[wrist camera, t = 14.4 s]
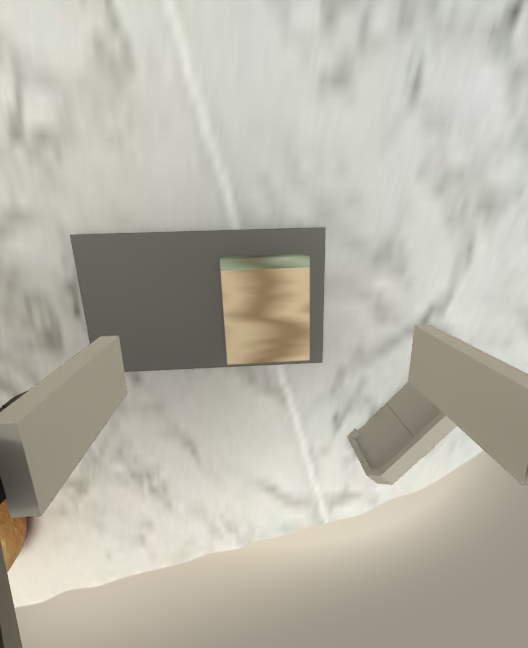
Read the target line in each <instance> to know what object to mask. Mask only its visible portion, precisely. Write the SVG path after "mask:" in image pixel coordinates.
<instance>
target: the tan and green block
mask: <svg viewBox="0 0 528 648" xmlns="http://www.w3.org/2000/svg"><path fill="white" fill-rule="evenodd" d="M220 270H221V284H222V298H223V311H224V325H225V339H226V353H227V365H230V364H249V363H267V362H285V361H304V360H310V256H309V255H306V254H283V255H259V256H235V257H222V258H221V259H220Z"/></svg>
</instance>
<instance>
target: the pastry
mask: <svg viewBox="0 0 528 648" xmlns="http://www.w3.org/2000/svg"><path fill="white" fill-rule="evenodd" d="M26 529H27V518H26V517H17V518H11V517H10V514H9V511H8V507H7V504H6V500H4V501H3V502H2V503H1V505H0V540H1V545H2V550H3V555H4V560H5V565H6V570H7V572H8V571H9V569H10V568H11V566H12V564H13V563H14V561H15V560H16V558H17V556H18V555H19V553H20V551H21V549H22V546H23V543H24V540H25V536H26Z"/></svg>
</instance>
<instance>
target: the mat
mask: <svg viewBox="0 0 528 648" xmlns="http://www.w3.org/2000/svg"><path fill="white" fill-rule="evenodd" d="M70 238H71V243H72V248H73V254H74V259H75V265H76V270H77V275H78V281H79V286H80V292H81V297H82V302H83V308H84V313H85V319H86V324H87V329H88V335H89V340H90V344H91V343H92V342H94V341H95V340H96V339H98V338H99V337H100V336H119V339H120V346H121V353H122V360H123V367H124V372H129V371H151V370H172V369H193V368H215V367H236V366H258V365H279V364H300V363H322V350H323V307H324V264H325V227H324V228H289V229H254V230H219V231H184V232H149V233H115V234H80V235H70ZM283 254H306V255H309V256H310V360H304V361H285V362H267V363H249V364H230V365H227V353H226V339H225V325H224V311H223V298H222V284H221V270H220V259H221V258H222V257H235V256H259V255H283Z"/></svg>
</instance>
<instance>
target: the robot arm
mask: <svg viewBox="0 0 528 648" xmlns="http://www.w3.org/2000/svg"><path fill="white" fill-rule="evenodd" d="M408 381H409V382H410V383H411V384H412V385H413V386H414V387H415V388H417V389H418V390H419V391H420V392H421V393H422V394H423V395H424V396H425V397H426V398H427V399H429V400H430V401H431V402H432V403H433V404H434V405H435V406H436V407H437V408H438V409H439V410H441V411H442V412H443V413H444V414H445V415H446V416H447V417H448V418H449V419H450V420H451V421H453V422H454V423H455V424H456V425H457V426H458V427H459V428H460V429H461V430H462V431H464V432H465V433H466V434H467V435H468V436H469V437H470V438H471V439H472V440H473V441H474V442H476V443H477V444H478V445H479V446H480V447H481V448H482V449H483V450H484V451H485V452H486V453H488V454H489V455H490V456H491V457H492V458H493V459H494V460H495V461H496V462H497V463H498V464H500V465H501V466H502V467H503V468H504V469H505V470H506V471H507V472H508V473H510V474H511V475H512V476H513V477H514V478H515V479H516V480H517V481H518V482H519V483H520V484H521V485H528V374H527V373H525V372H523V371H521V370H519V369H517V368H515V367H513V366H511V365H509V364H507V363H505V362H503V361H501V360H499V359H497V358H495V357H493V356H491V355H489V354H487V353H485V352H483V351H481V350H479V349H477V348H475V347H474V346H472V345H470V344H468V343H466V342H464V341H462V340H460V339H458V338H456V337H454V336H452V335H450V334H448V333H446V332H444V331H442V330H440V329H438V328H436V327H434V326H432V325H415V327H414V336H413V344H412V353H411V361H410V370H409V378H408ZM126 395H127V387H126V380H125V373H124V367H123V360H122V353H121V346H120V339H119V336H100V337H99V338H98V339H96V340H95V341H94V342H92V343H91V344H90V345H88V346H87V347H86V348H85V349H83V350H82V351H81V352H79V353H78V354H77V355H75V356H74V357H73V358H71V359H70V360H69V361H67V362H66V363H65V364H63V365H62V366H61V367H59V368H58V369H57V370H55V371H54V372H53V373H51V374H50V375H49V376H47V377H46V378H45V379H43V380H42V381H41V382H39V383H38V384H37V385H36V386H34V387H33V388H32V389H30V390H28V391H26V392H24V393H22V394H20V395H18V396H15V397H14V398H12V399H11V400H10V401H8V402H7V403H5V404H4V405H3V406H2V408H0V505H1V503H2V502H3V501H4V500H6V504H7V507H8V511H9V514H10V517H11V518H17V517H33V516H42V514H43V513H44V511H45V510H46V509H47V507H48V506H49V504H50V503H51V501H52V500H53V499H54V497H55V496H56V494H57V493H58V491H59V490H60V489H61V487H62V486H63V484H64V483H65V481H66V480H67V479H68V477H69V476H70V474H71V473H72V472H73V470H74V469H75V467H76V466H77V464H78V463H79V462H80V460H81V459H82V457H83V456H84V454H85V453H86V452H87V450H88V449H89V447H90V446H91V444H92V443H93V442H94V440H95V439H96V437H97V436H98V434H99V433H100V432H101V430H102V429H103V427H104V426H105V424H106V423H107V422H108V420H109V419H110V417H111V416H112V415H113V413H114V412H115V410H116V409H117V407H118V406H119V405H120V403H121V402H122V400H123V399H124V397H125V396H126ZM0 648H22V644H21V640H20V634H19V629H18V624H17V619H16V614H15V609H14V604H13V600H12V595H11V590H10V585H9V580H8V575H7V570H6V565H5V560H4V555H3V550H2V545H1V540H0Z"/></svg>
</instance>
